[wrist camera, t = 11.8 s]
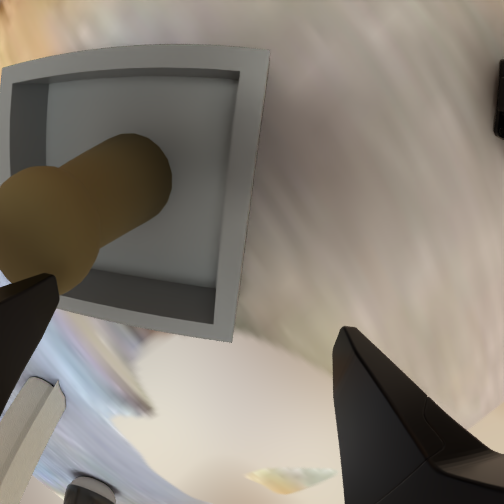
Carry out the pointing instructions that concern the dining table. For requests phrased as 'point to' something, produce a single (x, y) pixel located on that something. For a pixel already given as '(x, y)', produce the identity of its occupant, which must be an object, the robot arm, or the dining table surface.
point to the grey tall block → (27, 435)
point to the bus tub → (180, 160)
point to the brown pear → (79, 208)
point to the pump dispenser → (88, 492)
